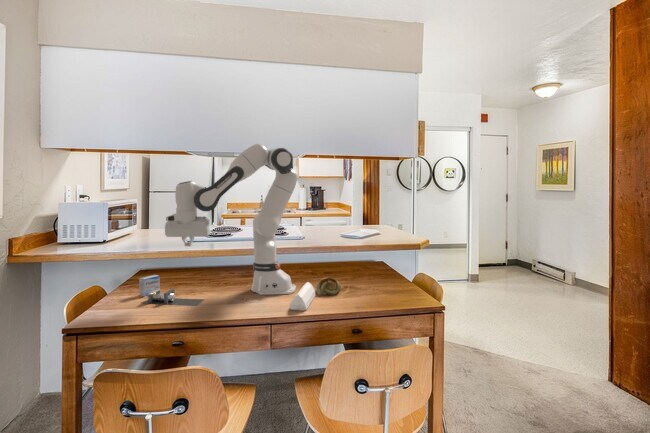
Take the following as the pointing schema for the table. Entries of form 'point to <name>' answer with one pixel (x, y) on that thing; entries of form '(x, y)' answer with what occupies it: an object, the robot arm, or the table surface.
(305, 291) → the white chamfered bar
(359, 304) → the table surface
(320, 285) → the pastry
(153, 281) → the medicine box
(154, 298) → the tube
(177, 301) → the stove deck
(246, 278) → the table surface
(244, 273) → the table surface
